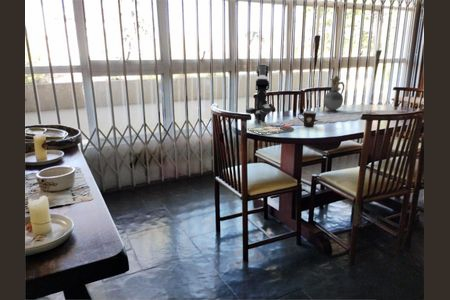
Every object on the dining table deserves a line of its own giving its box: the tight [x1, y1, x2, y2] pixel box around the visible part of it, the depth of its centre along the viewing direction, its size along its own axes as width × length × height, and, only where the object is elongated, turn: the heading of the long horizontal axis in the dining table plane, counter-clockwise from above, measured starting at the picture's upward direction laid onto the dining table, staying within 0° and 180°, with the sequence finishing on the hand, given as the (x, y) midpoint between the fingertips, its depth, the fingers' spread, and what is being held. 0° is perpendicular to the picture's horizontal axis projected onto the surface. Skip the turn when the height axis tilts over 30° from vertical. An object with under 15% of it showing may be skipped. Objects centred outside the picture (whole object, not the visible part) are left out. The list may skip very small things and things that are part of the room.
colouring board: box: [247, 125, 285, 134], centre depth 211 cm, size 16×18×1 cm
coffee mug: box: [297, 110, 317, 128], centre depth 224 cm, size 12×9×10 cm
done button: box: [282, 124, 291, 129], centre depth 212 cm, size 5×5×2 cm
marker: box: [254, 120, 267, 127], centre depth 208 cm, size 9×2×2 cm, turn 26°
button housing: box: [279, 126, 295, 132], centre depth 213 cm, size 6×6×2 cm
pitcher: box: [323, 75, 345, 113], centre depth 276 cm, size 11×19×30 cm, turn 119°
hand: (260, 123), depth 208 cm, fingers closed on marker, 2 cm apart
